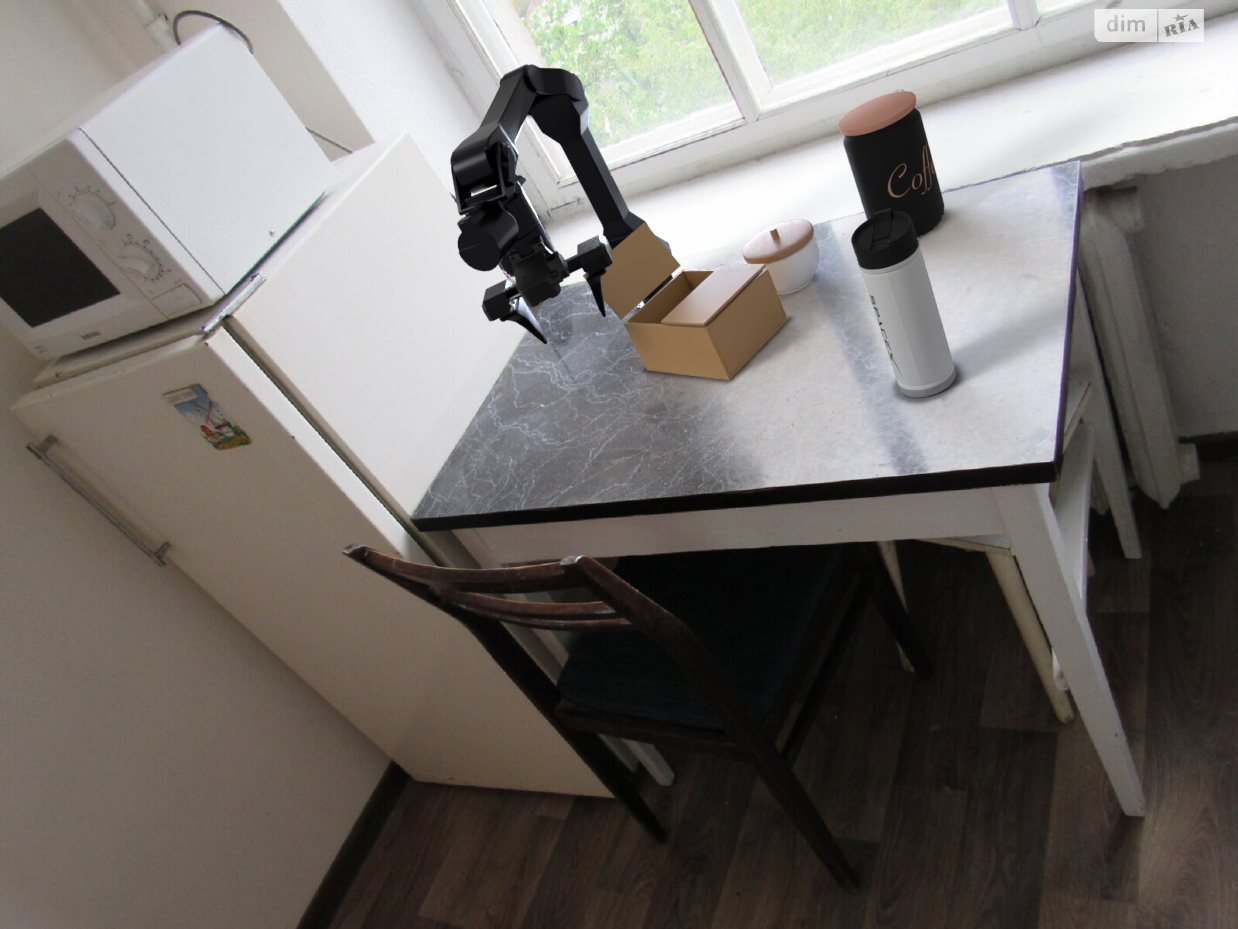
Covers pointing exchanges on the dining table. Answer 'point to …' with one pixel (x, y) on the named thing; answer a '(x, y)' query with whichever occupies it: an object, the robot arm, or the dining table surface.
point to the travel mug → (904, 303)
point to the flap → (636, 270)
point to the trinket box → (786, 254)
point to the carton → (695, 297)
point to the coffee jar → (893, 159)
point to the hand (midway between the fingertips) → (575, 329)
